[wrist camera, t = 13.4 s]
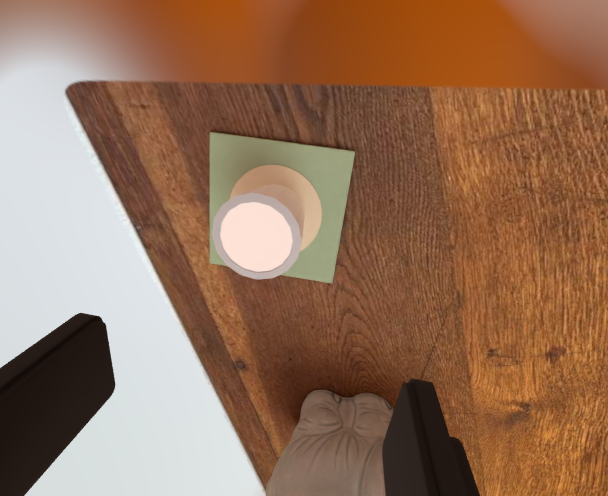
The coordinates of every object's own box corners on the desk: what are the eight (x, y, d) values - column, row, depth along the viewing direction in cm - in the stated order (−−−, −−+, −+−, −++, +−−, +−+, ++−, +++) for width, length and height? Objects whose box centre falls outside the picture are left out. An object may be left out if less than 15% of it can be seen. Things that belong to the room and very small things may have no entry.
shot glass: (239, 174, 29) (207, 189, 22) (313, 179, 28) (303, 196, 21) (241, 244, 31) (214, 275, 25) (309, 250, 30) (299, 284, 24)
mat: (212, 131, 28) (208, 132, 28) (355, 150, 27) (355, 151, 27) (211, 260, 33) (208, 264, 32) (332, 280, 32) (332, 284, 32)
